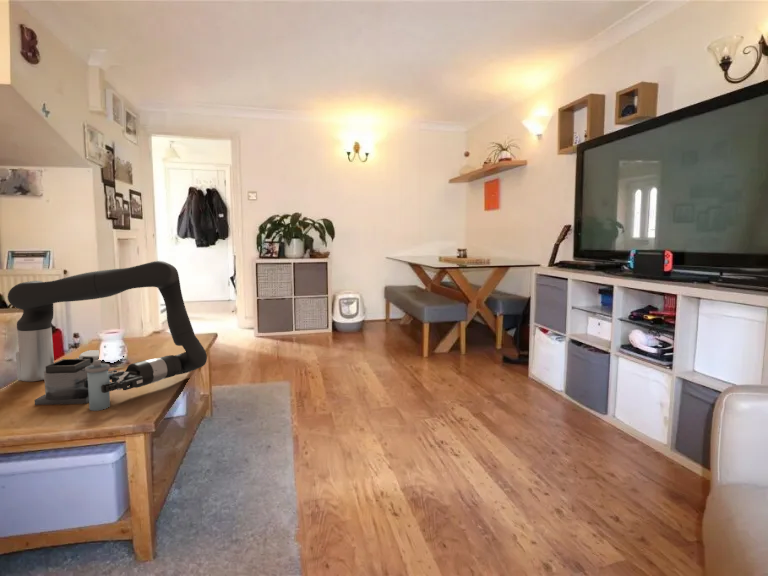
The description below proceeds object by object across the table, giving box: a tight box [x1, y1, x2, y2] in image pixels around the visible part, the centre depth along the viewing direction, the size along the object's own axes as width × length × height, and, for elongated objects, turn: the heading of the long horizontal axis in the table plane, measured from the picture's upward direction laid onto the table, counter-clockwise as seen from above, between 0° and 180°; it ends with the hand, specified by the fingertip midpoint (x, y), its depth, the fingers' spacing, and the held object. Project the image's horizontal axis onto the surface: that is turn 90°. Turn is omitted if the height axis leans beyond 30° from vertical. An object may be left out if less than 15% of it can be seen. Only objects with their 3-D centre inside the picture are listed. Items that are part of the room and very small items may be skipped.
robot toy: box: [75, 349, 99, 365], centre depth 172 cm, size 12×4×15 cm
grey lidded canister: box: [85, 360, 111, 412], centre depth 126 cm, size 6×6×14 cm
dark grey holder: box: [34, 358, 91, 406], centre depth 134 cm, size 14×14×11 cm
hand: (93, 386), depth 125 cm, fingers open, 8 cm apart
